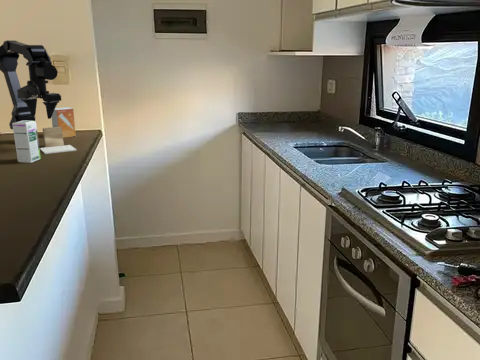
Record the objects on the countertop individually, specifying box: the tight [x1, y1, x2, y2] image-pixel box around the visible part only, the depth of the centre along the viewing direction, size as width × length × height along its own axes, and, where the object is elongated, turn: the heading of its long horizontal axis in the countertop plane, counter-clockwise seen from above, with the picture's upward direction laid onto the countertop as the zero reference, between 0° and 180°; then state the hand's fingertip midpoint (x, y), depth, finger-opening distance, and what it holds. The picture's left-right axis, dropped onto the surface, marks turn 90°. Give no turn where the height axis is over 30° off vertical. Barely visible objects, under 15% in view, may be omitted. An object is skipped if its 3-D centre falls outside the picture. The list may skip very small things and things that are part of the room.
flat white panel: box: [39, 144, 77, 155], centre depth 187 cm, size 10×12×1 cm
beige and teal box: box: [42, 126, 65, 148], centre depth 191 cm, size 3×7×8 cm, turn 123°
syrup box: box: [12, 120, 42, 164], centre depth 167 cm, size 6×6×14 cm
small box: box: [51, 106, 77, 139], centre depth 212 cm, size 8×6×13 cm
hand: (41, 117), depth 186 cm, fingers open, 9 cm apart
